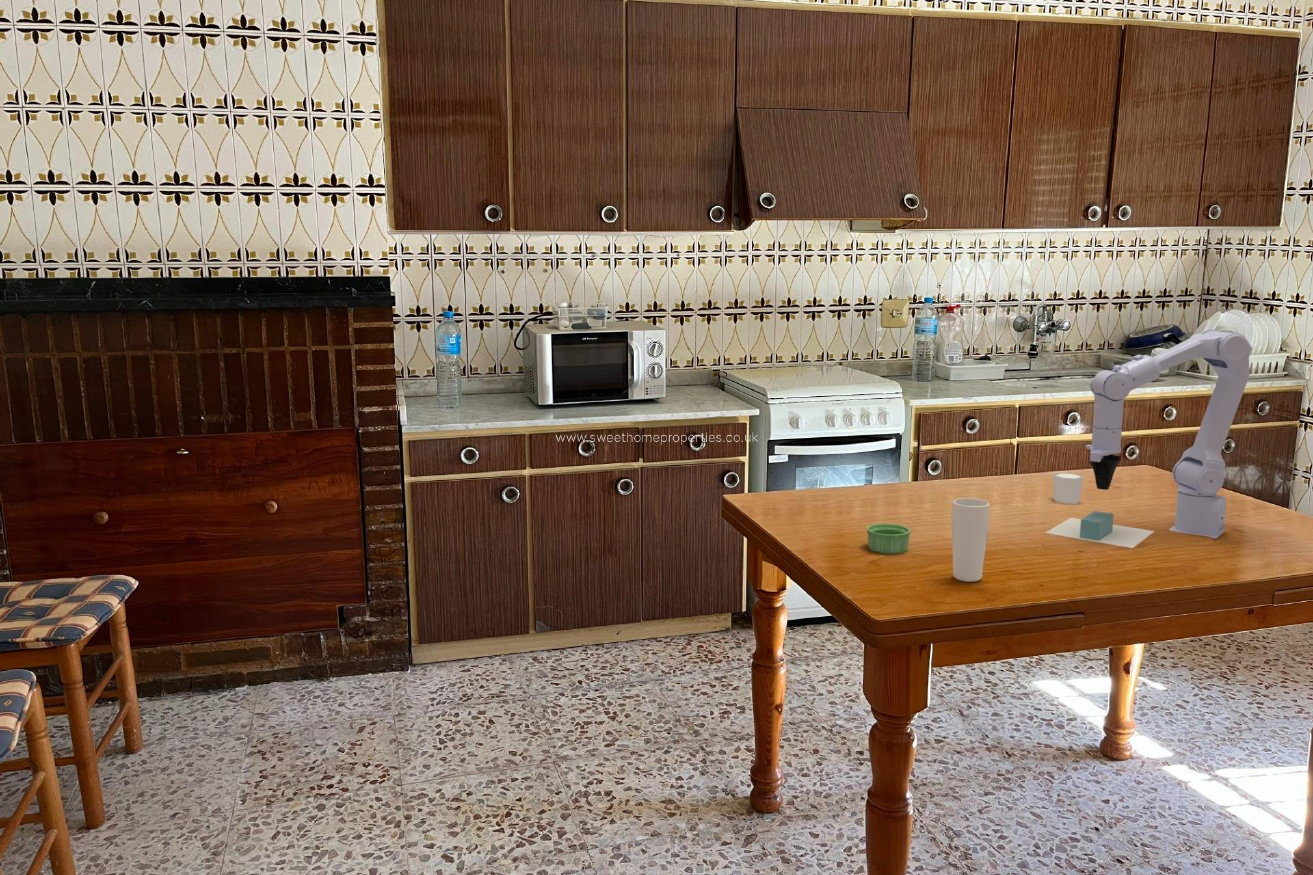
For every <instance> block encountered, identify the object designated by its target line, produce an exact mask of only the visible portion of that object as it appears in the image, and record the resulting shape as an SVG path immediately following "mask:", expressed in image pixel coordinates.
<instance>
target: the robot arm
mask: <svg viewBox="0 0 1313 875" xmlns="http://www.w3.org/2000/svg"><path fill="white" fill-rule="evenodd" d="M1252 350H1253V347H1252V344H1250V342H1249V341H1248V339H1247V338H1246V337H1245V336H1244V335H1243V334H1241V333H1239V332H1226V331H1219V330H1215V329H1205V330H1203V331H1202V332H1199V333H1196V334H1193V335H1192V336H1191V337H1189V338H1187V339H1186V340H1184V341H1182V342H1180V343H1178V344H1176V345H1174V346H1172V347H1170V348H1167V349H1166V350H1163V351H1161V353H1158V354H1157V355H1155V356H1151V355H1148V354H1144V355H1143V354H1136V355H1134V356H1133V360H1130V361H1128V362H1126V363H1123V364H1121V365H1119V364H1116V365H1114V366H1113V368H1112V370H1111V371H1110V370H1106V369H1104V370H1100V371H1099V372H1098V373H1096V374H1095V376H1094V377H1093V379H1092V381H1091V382H1090V383H1089V388H1090V391H1091V392H1092V394H1093V396H1094V398H1093V402H1094V404H1093V419H1092V420H1093V421H1092V435H1091V444H1086V445H1085V449H1086V450H1090V451H1089V452H1090V453H1089V454H1090V455H1089V457H1088V461H1089V463H1090V465H1091V467H1092V470H1093V473H1094V479H1095V485H1096V489H1098V490H1104V491H1107V490H1109V489H1110V487H1111V483H1112V480H1113V477H1114V473H1115V471H1116V469H1117V467H1118V465H1119V463H1120V462H1121V460H1122V456H1121V455H1115V454H1121V452H1122V446H1121V445H1122V443H1121V442H1122V432H1123V430H1122V429H1123V419H1124V418H1123V417H1124V406H1125V405H1124V404H1125V401H1124V400H1125V399H1126V398H1127V397H1128V396H1129V394H1130V393H1131V391H1133V390H1136V389H1137V388H1140V387H1142V386H1144V385H1146V384H1149V383H1150V382H1154V381H1156V380H1157V379H1158V378H1159V377H1160V374H1161V372H1162V371H1165V370H1167V369H1170V368H1172V367H1175V366H1177V365H1180V364H1182V363H1185V362H1188V361H1190V360H1192V359H1195V358H1199V359H1202V360H1204V361H1205V362H1206V363H1207V364H1208V365H1210V366H1211V368H1212V369H1213V371H1214V372H1215V374H1216V376H1217V379H1216V382H1215V386H1214V388H1213V391H1212V393H1211V395H1210V399H1209V402H1208V404H1207V407H1206V409H1205V410H1206V411H1205V413H1204V416H1203V418H1202V421H1201V424H1200V427H1199V429H1198V432H1197V434H1196V437H1195V441H1194V443H1193V445H1192V446H1191V447H1189V448H1187V449H1186V450H1184V451H1183V453H1182V456H1181V458H1180V459H1179V460H1178V461H1177V462H1176V463H1175V465H1174V466H1173V467H1172V468H1173V469H1172V478H1173V481H1174V482H1175V484H1177V485H1176V489H1177V494H1176V495H1177V496H1176V506H1175V508H1176V509H1175V516H1174V517H1175V518H1174V520H1175V521H1174V524H1173V526H1171V527H1170V528H1169V529H1168V531H1172V532H1178V533H1183V534H1190V535H1197V536H1203V537H1209V538H1212V539H1213V540H1216V539H1218V538H1219V537H1220V536H1222V534H1223V533H1224V532H1225V525H1226V524H1225V522H1226V515H1227V514H1226V513H1227V512H1226V511H1227V497H1226V496H1223V495H1219V494H1217V493H1218V492H1219V491H1221V489H1222V488H1223V485H1224V482H1225V475H1224V473H1225V468H1226V466H1227V465H1226V462H1225V460H1224V458H1223V456H1222V451H1223V448H1224V445H1225V442H1226V440H1227V438H1228V434H1229V432H1230V429H1231V426H1232V424H1233V421H1234V418H1235V415H1236V413H1237V410H1238V408H1239V404H1240V403H1241V399H1242V396H1243V394H1244V391H1245V389H1246V386H1247V384H1248V381H1249V378H1250V372H1251V371H1250V355H1251V354H1252Z"/></svg>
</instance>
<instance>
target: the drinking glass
mask: <svg viewBox="0 0 1313 875" xmlns="http://www.w3.org/2000/svg"><path fill="white" fill-rule="evenodd" d="M952 501H953V502H952V508H951V538H952V541H951V542H952V565H953V566H952V576H953V577H954V578H955V579H956V580H958V581H962V582H968V583H971V582H974V583H975V582H978V581H980V580H981V579H982V578H983V568H984V561H985V554H986V547H987V539H988V534H989V533H988V532H989V527H990V526H989V525H990V502H989V501H987V500H984V499H980V498H973V497H962V498H956V499H954V500H952Z"/></svg>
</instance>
